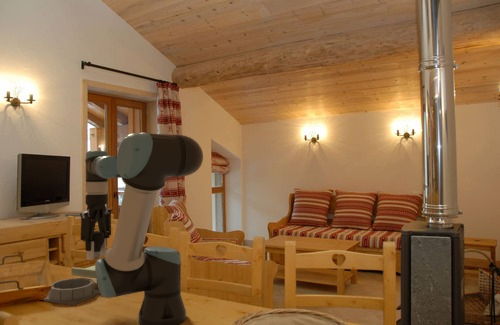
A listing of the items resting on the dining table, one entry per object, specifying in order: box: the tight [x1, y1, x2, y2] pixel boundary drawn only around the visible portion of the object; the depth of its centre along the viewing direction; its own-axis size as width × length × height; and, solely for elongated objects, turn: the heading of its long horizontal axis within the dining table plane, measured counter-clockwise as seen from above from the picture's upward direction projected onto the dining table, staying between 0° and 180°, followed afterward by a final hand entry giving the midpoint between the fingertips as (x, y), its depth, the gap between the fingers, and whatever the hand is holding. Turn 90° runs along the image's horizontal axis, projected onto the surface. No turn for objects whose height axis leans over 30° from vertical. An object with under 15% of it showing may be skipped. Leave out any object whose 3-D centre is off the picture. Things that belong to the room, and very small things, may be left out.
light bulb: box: [92, 230, 105, 260], centre depth 149 cm, size 6×6×10 cm
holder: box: [43, 277, 101, 306], centre depth 157 cm, size 16×16×5 cm
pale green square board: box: [71, 265, 96, 279], centre depth 173 cm, size 16×16×3 cm
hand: (96, 257), depth 149 cm, fingers closed on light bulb, 6 cm apart
